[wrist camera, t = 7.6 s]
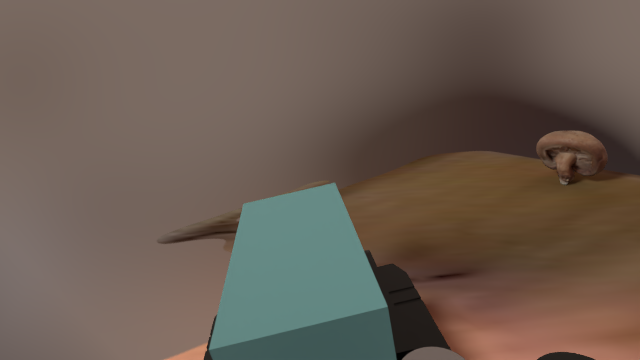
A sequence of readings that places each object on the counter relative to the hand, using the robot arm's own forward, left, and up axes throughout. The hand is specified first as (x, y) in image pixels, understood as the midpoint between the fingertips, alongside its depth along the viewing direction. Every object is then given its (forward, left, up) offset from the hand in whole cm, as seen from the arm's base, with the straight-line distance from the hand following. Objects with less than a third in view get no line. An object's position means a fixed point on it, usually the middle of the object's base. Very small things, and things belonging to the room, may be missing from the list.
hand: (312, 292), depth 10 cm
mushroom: (+35, +34, -18) cm, 52 cm away
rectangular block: (0, -2, -9) cm, 9 cm away
